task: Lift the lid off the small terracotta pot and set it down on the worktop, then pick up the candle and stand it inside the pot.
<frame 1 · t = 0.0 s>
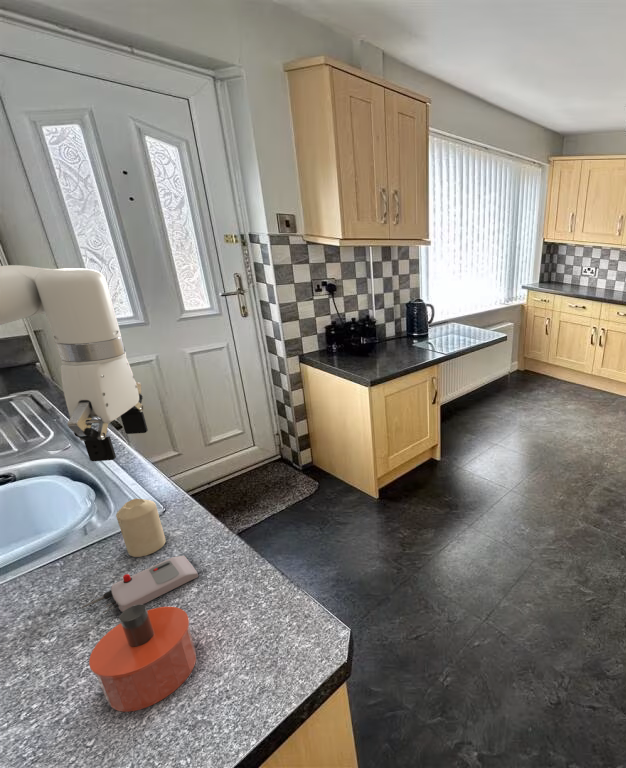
hand: (121, 445, 72), 22 cm above the worktop, tool pointing down, fingers open, 9 cm apart
pot: (154, 675, 58), on the worktop
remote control: (150, 589, 71), on the worktop
candle: (147, 547, 80), on the worktop
lid: (142, 640, 56), point 6 cm above the worktop, touching pot
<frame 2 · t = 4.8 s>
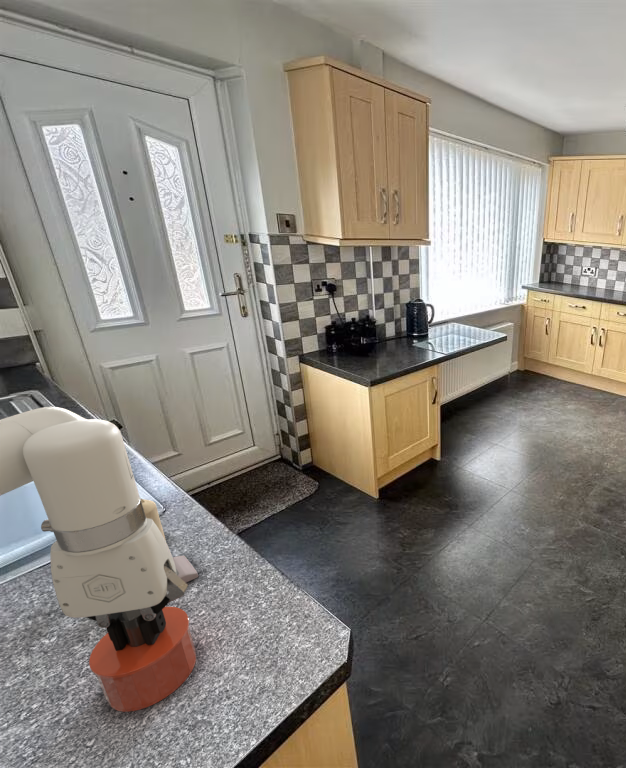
hand: (141, 637, 55), 7 cm above the worktop, tool pointing down, fingers closed on lid, 2 cm apart
lid: (142, 640, 56), point 7 cm above the worktop, touching gripper, pot
everything else where it was.
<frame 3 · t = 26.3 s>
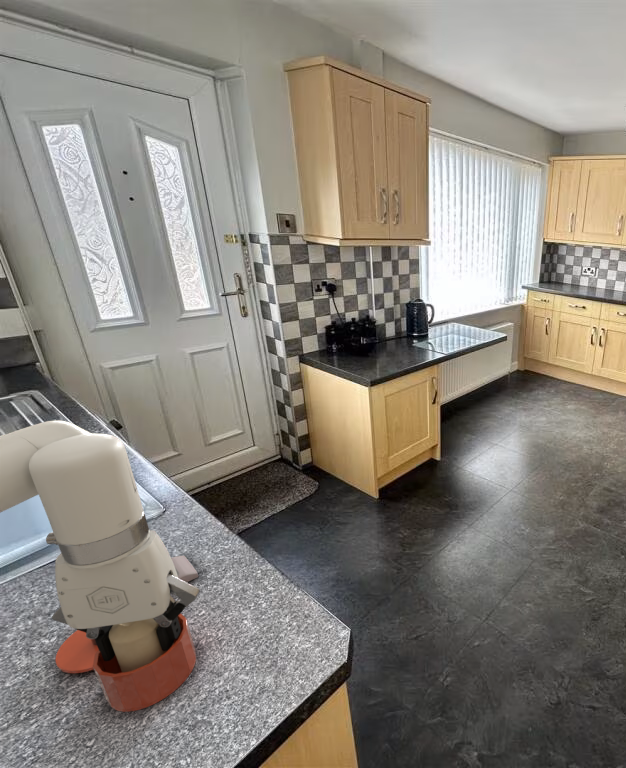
hand: (143, 645, 56), 6 cm above the worktop, tool pointing down, fingers closed on candle, 5 cm apart
candle: (153, 669, 58), point 1 cm above the worktop, touching gripper
lid: (105, 639, 62), point 1 cm above the worktop
everything else where it was.
when the fingers open (6 cm above the worktop, at t = 31.9 s): candle stays where it is, resting on pot.
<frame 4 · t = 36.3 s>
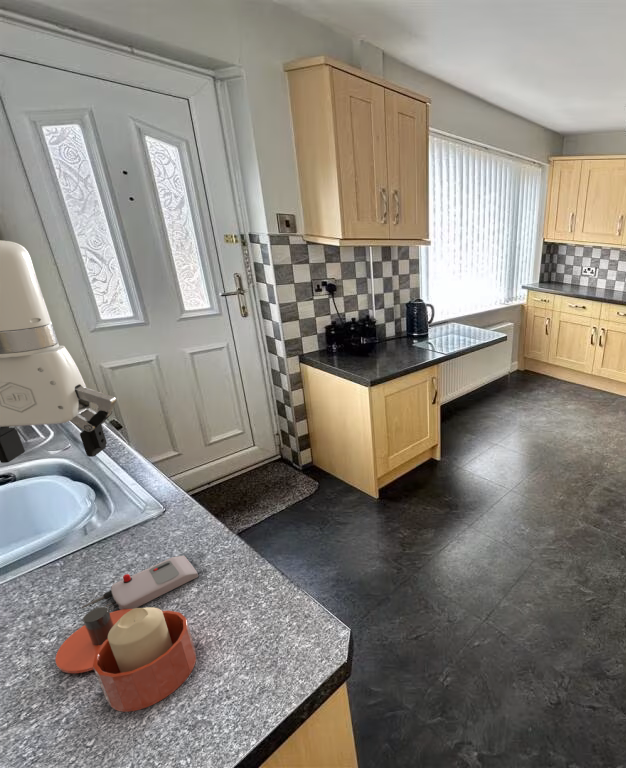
hand: (56, 454, 60), 26 cm above the worktop, tool pointing down, fingers open, 9 cm apart
candle: (152, 671, 58), resting on pot
everything else where it was.
at the end: candle 0.4 cm off-centre in the pot, point 0.3 cm above the pot's base; candle tilted 0°; lid inside the target area (0.0 cm from its centre), point 0.6 cm above the worktop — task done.
